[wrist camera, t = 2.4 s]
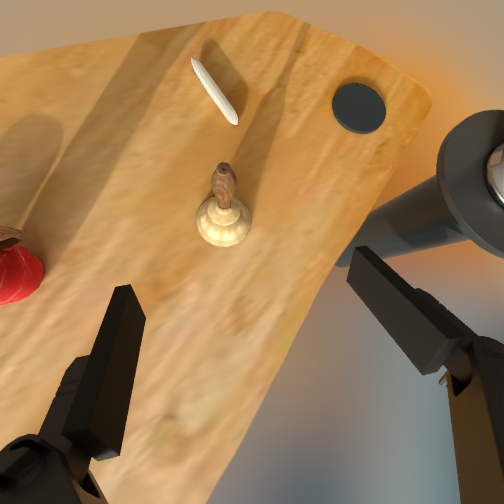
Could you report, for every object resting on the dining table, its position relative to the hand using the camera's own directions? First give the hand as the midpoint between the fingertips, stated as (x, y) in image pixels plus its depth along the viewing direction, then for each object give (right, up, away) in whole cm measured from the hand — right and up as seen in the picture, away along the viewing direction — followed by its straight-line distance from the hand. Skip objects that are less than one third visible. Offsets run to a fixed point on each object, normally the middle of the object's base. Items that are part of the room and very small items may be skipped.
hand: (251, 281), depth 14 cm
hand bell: (-4, +7, +23) cm, 24 cm away
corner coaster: (+19, +28, +29) cm, 45 cm away
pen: (-7, +28, +26) cm, 39 cm away
